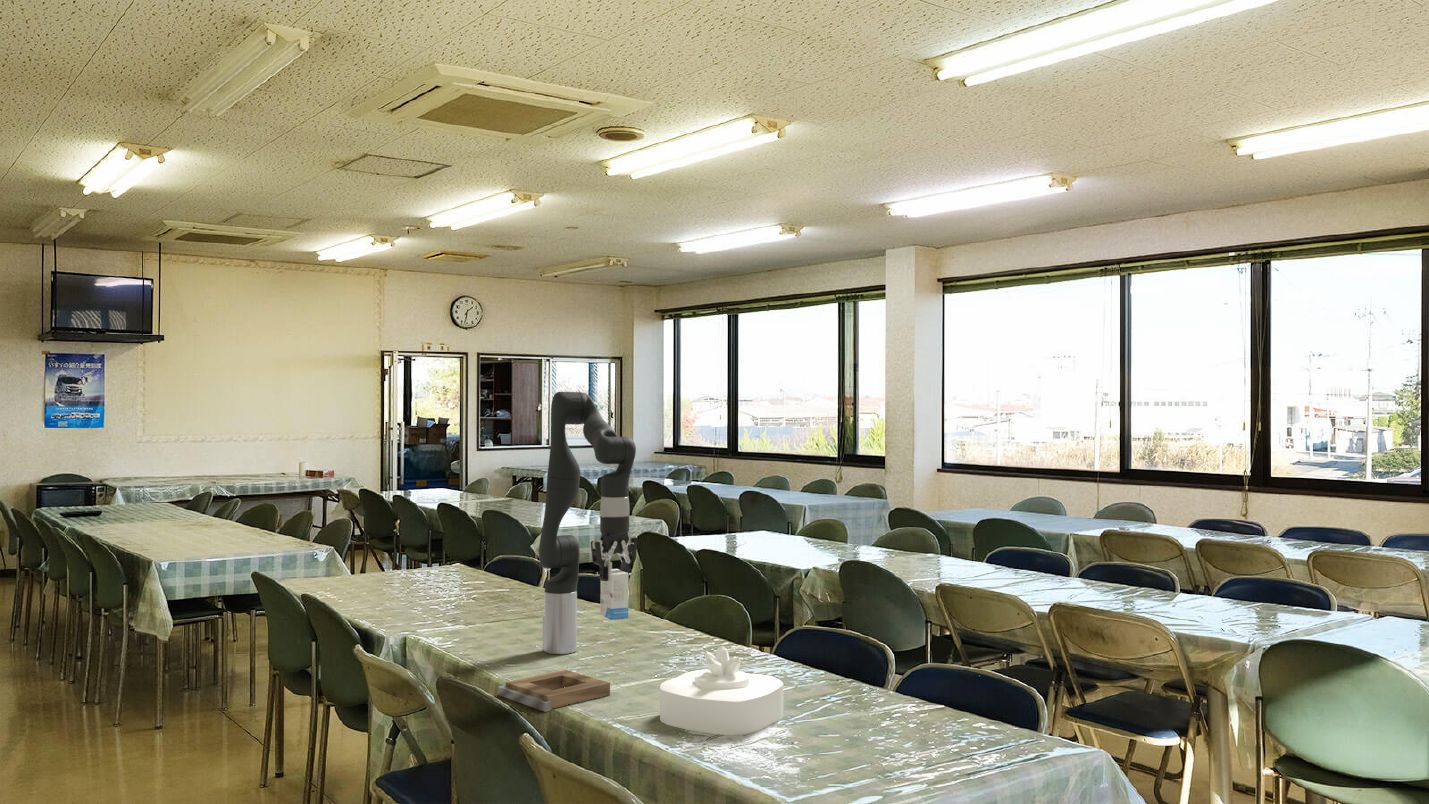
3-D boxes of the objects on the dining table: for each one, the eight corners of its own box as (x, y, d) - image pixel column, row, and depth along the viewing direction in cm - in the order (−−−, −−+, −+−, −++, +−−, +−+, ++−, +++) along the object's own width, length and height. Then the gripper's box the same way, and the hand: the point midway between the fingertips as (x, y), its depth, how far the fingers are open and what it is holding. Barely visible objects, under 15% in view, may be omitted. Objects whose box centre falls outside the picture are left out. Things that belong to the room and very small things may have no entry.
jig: (497, 694, 253) (497, 682, 253) (563, 680, 267) (563, 669, 267) (545, 711, 239) (545, 698, 239) (612, 696, 252) (612, 683, 253)
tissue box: (743, 740, 219) (743, 663, 219) (645, 722, 232) (645, 650, 232) (795, 711, 241) (796, 641, 241) (703, 696, 253) (703, 630, 253)
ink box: (629, 618, 266) (629, 561, 266) (610, 620, 263) (611, 562, 263) (617, 612, 273) (617, 556, 273) (599, 614, 271) (599, 557, 271)
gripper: (627, 511, 276) (626, 574, 276) (583, 514, 266) (582, 580, 266) (645, 513, 271) (645, 578, 271) (601, 517, 261) (601, 584, 261)
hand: (614, 579), depth 268 cm, fingers closed on ink box, 6 cm apart
